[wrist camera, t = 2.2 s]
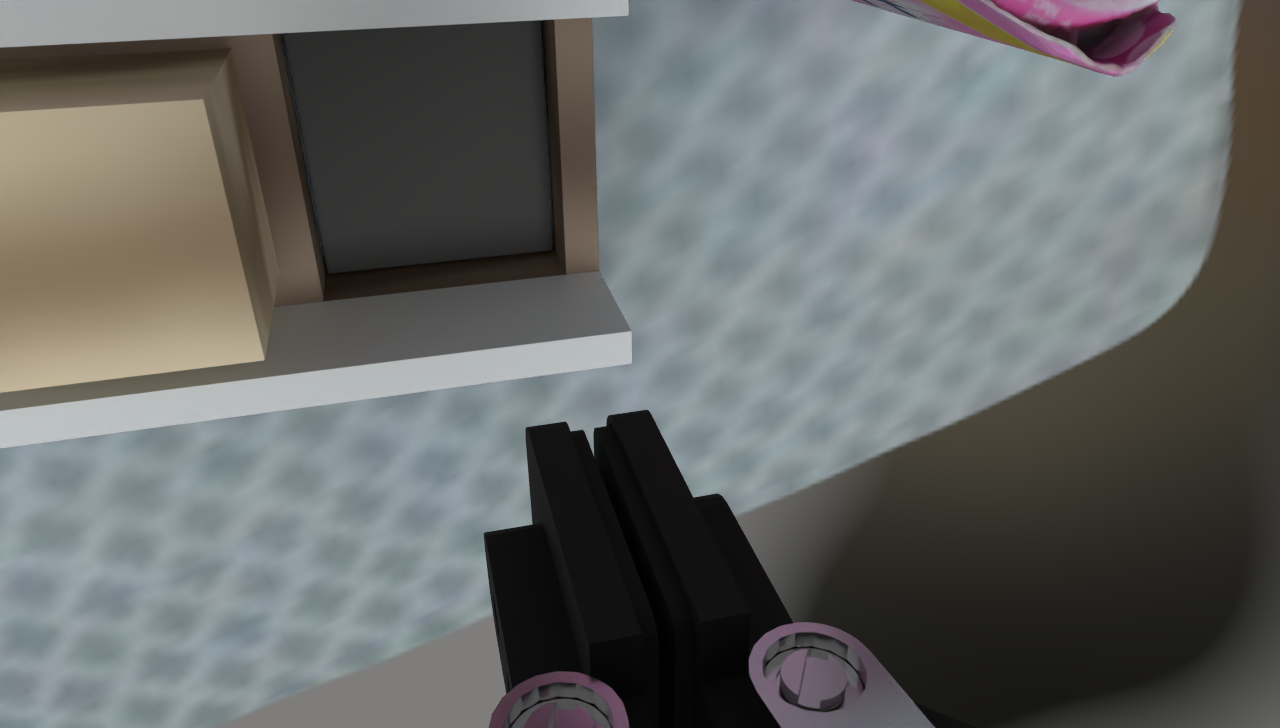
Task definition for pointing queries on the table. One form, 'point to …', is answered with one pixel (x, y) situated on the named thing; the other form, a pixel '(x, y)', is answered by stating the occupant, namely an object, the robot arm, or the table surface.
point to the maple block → (129, 219)
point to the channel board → (376, 198)
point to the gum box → (1054, 27)
